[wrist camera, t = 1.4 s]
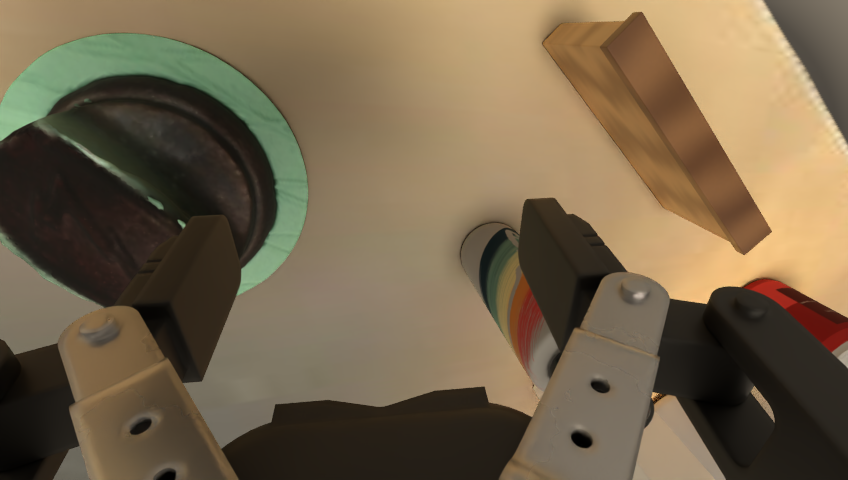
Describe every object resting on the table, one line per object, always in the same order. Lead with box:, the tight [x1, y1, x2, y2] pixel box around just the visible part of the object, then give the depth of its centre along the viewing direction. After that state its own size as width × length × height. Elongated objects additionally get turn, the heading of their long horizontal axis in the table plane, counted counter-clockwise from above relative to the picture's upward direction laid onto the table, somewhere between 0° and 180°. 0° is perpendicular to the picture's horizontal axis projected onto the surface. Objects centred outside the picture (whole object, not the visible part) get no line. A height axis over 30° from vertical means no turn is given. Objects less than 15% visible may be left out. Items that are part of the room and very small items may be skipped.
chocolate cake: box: [0, 33, 308, 308], centre depth 30 cm, size 15×19×20 cm
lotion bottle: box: [461, 223, 654, 429], centre depth 31 cm, size 6×6×20 cm
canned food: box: [744, 279, 848, 368], centre depth 45 cm, size 8×8×11 cm
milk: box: [533, 384, 715, 480], centre depth 38 cm, size 6×6×22 cm
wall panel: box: [542, 12, 772, 255], centre depth 33 cm, size 21×3×9 cm, turn 45°
